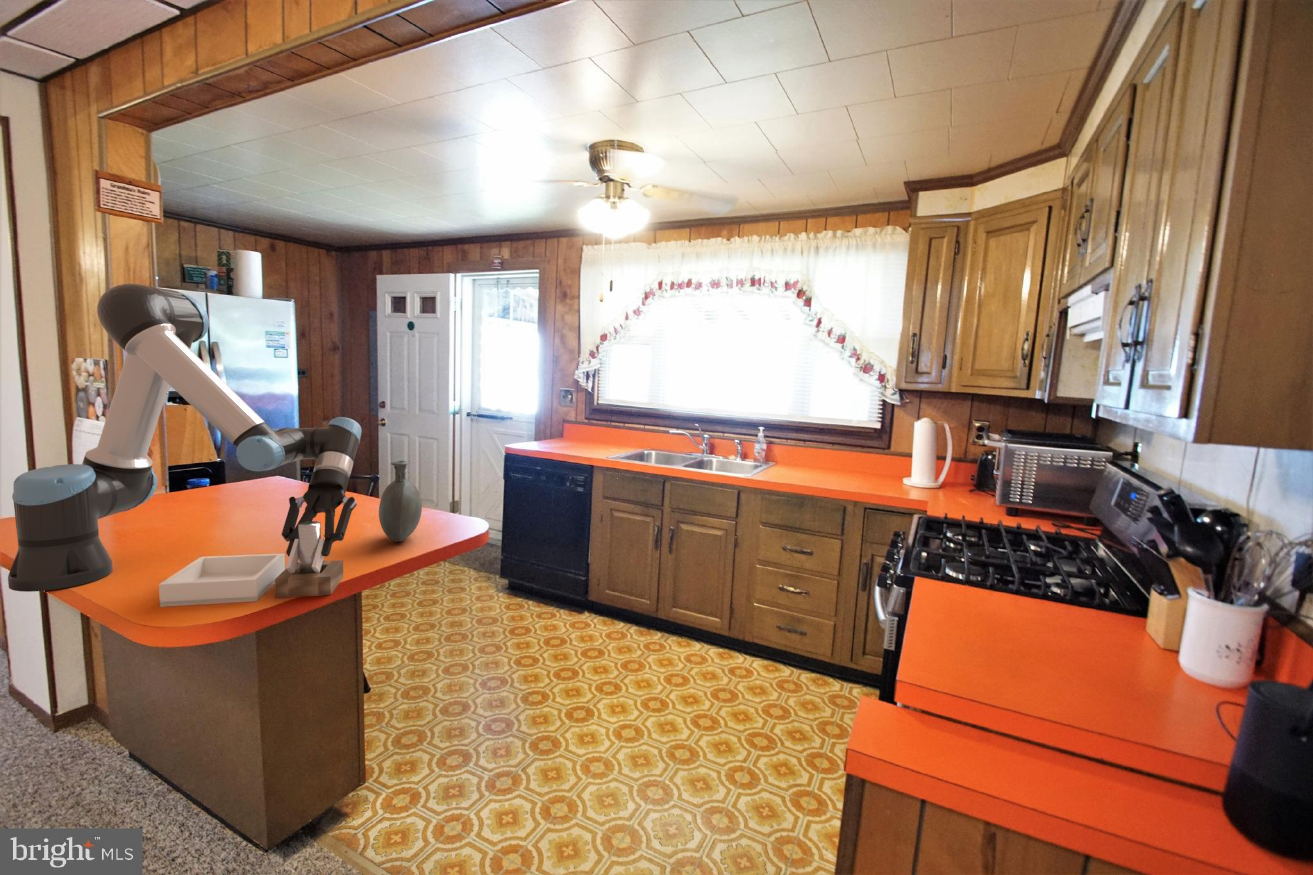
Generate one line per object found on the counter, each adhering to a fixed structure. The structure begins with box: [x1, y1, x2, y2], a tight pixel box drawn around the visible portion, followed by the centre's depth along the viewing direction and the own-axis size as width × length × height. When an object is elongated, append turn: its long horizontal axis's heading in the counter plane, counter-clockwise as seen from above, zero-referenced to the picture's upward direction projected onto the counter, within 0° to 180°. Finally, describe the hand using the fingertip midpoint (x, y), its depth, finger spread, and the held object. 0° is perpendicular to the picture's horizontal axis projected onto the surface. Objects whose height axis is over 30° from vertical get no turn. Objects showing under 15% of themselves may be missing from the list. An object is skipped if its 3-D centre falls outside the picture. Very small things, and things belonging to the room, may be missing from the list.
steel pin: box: [297, 520, 322, 574], centre depth 119 cm, size 4×4×14 cm
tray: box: [158, 553, 286, 608], centre depth 117 cm, size 16×16×4 cm
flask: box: [378, 460, 423, 543], centre depth 153 cm, size 12×17×22 cm
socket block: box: [274, 560, 344, 599], centre depth 120 cm, size 10×10×4 cm
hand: (302, 569), depth 116 cm, fingers closed on socket block, 4 cm apart
